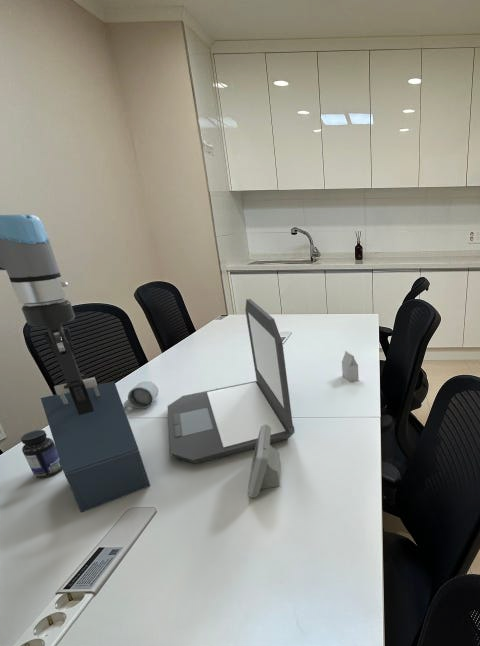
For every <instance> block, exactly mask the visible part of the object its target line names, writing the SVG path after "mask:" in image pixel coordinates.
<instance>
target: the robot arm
mask: <svg viewBox="0 0 480 646" xmlns="http://www.w3.org/2000/svg"><path fill="white" fill-rule="evenodd" d="M0 271H6V273H7V276H8V278H9V281H10V285H11V287H12V291H13V292H14V294H15V297H16V299H17V302H18V303H19V304H22V307H21V311H22V313H23V316H24V318H25V321H26V323H27V325H28V326H31V327H46V329H47V331H43V334H44V335H43V336H44V339H45V342H46V343H47V344H48V345H49V349H50V350H51V352H52V355H53V356H55V357H56V360H57V362H58V365H59V367H60V369H61V372H62V375H63V377H64V380H65V382H66V383H67V385H64V389H66V388H69V391H70V393H71V396H72V398H73V401H74V404H75V406H76V409H77V412H78V414H79V415H82V414H86V413H89V412H93V411H94V410H93V406H92V403H91V401H90V398H89V395H88V392H87V390H86V388H85V385H84V382H83V380H84V378H86V374H85V373H81V369H80V368H79V367H78V364H77V361H76V359H75V356H74V353H75V349H74V345H73V342H72V336H71V332H70V330H69V328H68V327H66V328H65V327H63V325H62V324H63V323H64V324H65V323H69V322H72V321H73V320H75V318H76V315H75V311H74V309H73V305H72V302H71V301H69V300H68V299H67V298H68V297H69V295H68V292H67V290H66V288H67V287H68V286H69V283H68V282H67V281H63V278H62V274H61V273H60V271H61V270H60V269H59V266H58V263H57V260H56V257H55V254H54V250H53V248H52V244H51V241H50V237H49V235H48V233H47V231H46V228H45V226H44V225H43V222H42V220H41V219H40V218H39V216H37V215H35V214H30V213H29V214H28V213H26V214H0Z"/></svg>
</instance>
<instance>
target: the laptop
mask: <svg viewBox="0 0 480 646" xmlns="http://www.w3.org/2000/svg"><path fill="white" fill-rule="evenodd" d="M244 310H245V316H246V317H245V318H246V324H247V329H248V336H249V343H250V348H251V355H252V360H253V366H254V374H255V380H253V381H249V382H244V383H239V384H235V385H230V386H225V387H220V388H215V389H214V388H213V389H209V390H205V391H200V392H199V391H198V392H194V393H190V394H185V395H182V396H180V397H179V398H177V399H176V400H174V401H173V402H171V403H170V404H169V405H167V419H168V433H169V446H170V447H169V448H170V454H171V455H173V456H174V457H176V458H177V459H179V460H181V461H185V462H190V463H194V464H201V463H205V462H209V461H212V460H215V459H220V458H223V457H226V456H227V457H228V456H230V455H234V454H237V453H241V452H244V451H248V450H251V449H252V450H253V449H255V447H256V443H257V440H258V436H259V432H260V428H261V426H263V425H268V426H269V427H270V428H271V434H270V445H272V444H274V443H278V442H281V441H282V442H283V441H286V440H289V438H291V437H292V436H293V435H294V434H295V426H294V424H293V423H294V422H293V415H292V407H291V400H290V391H289V384H288V376H287V368H286V360H285V353H284V352H285V351H284V344H283V340H282V337H281V334H280V332H279V329H278V326H277V323H276V320H275V318H274V317H272V316H271V315H270V313H268V312H266V311H265V310H264V309H263V308H262V307H261V306H259V305H258V304H257V303H256V302H254V301H253V300H252V299H251V298H246V301H245V309H244Z"/></svg>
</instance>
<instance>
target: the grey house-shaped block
mask: <svg viewBox="0 0 480 646" xmlns="http://www.w3.org/2000/svg"><path fill="white" fill-rule="evenodd" d="M341 370H342V371H341V373H342V377H343V378H345V379H346V380H347V381H348V382H350V383H352V382H355V381H359V379H360V378H359V364H358V362H357V361H356V359H355V356H354V355H353V354H352V353H351V352H349V351H348V350H345V351H344V355H343V357H342V360H341Z"/></svg>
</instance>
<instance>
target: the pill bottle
mask: <svg viewBox="0 0 480 646" xmlns="http://www.w3.org/2000/svg"><path fill="white" fill-rule="evenodd" d="M47 435H48V434H47V433H46V430H44V429H36V430H32V431H29V432H27V433H24V434H23V435H22V436H20V441H21V443H22V444H24V445H23V446H22V448H21V451H22V453H23V455H24V457H25V460H26V462H27V464H28V466H29V468H30V470H31V472H32V474H33V476H34V477H35V478H36V479H45V478H49V477H52V476H54V475H57V474H58V473H60V472H61V471H63V469H62V465H61V462H60V459H59V456H58V452H57V449H56V446H55V443H54V440H53V438H50V437H47Z"/></svg>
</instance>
